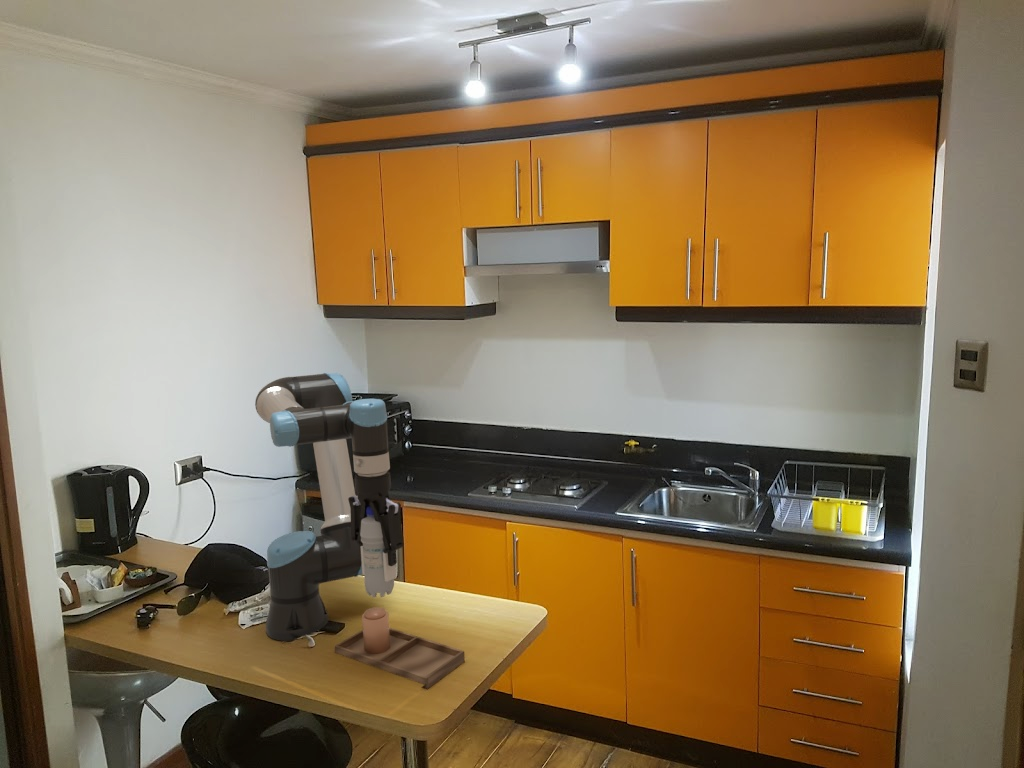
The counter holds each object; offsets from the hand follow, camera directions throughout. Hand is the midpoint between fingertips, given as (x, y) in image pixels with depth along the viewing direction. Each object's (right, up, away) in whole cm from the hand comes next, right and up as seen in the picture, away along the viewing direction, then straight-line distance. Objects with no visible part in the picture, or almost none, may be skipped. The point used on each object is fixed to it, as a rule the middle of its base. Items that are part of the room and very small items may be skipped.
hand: (379, 575), depth 164 cm
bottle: (0, -4, 0) cm, 4 cm away
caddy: (+3, -21, +9) cm, 23 cm away
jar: (-3, -20, +12) cm, 23 cm away
